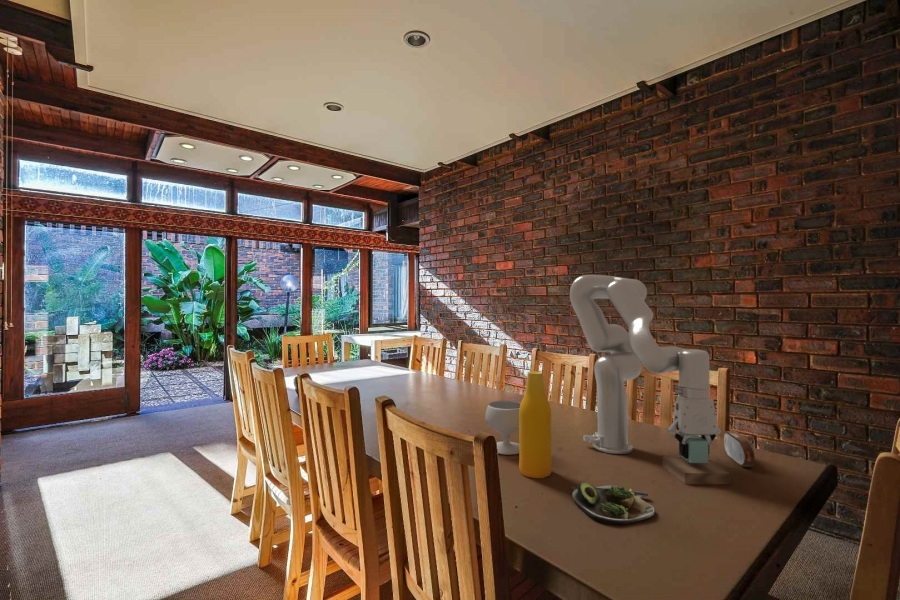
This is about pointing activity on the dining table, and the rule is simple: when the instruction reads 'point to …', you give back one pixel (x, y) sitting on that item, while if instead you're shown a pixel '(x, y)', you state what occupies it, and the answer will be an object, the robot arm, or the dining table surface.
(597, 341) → the robot arm
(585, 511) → the salad plate
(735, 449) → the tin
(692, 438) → the teal block
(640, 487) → the dining table surface
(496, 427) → the chalice
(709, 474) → the walnut base
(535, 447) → the beer bottle
